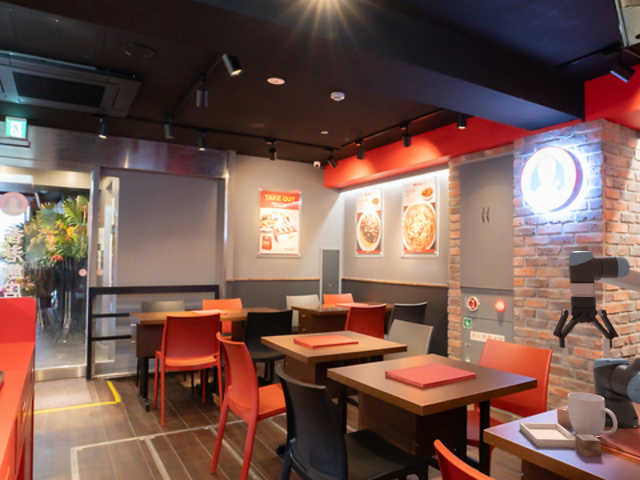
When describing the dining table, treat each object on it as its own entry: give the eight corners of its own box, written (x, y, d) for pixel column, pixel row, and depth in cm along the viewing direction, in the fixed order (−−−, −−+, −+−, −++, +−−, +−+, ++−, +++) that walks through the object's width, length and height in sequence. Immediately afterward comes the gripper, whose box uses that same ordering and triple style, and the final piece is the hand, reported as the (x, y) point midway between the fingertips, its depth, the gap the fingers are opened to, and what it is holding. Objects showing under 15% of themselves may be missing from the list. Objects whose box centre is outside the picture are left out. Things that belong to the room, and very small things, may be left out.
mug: (625, 440, 147) (623, 400, 148) (610, 447, 141) (607, 405, 142) (579, 427, 160) (577, 390, 161) (562, 434, 154) (560, 395, 155)
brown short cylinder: (569, 423, 164) (568, 407, 164) (575, 428, 159) (575, 411, 159) (555, 423, 164) (554, 407, 165) (561, 428, 159) (560, 411, 160)
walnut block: (592, 451, 139) (591, 434, 140) (601, 457, 134) (600, 440, 135) (576, 450, 140) (575, 434, 140) (583, 457, 135) (583, 440, 135)
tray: (557, 430, 157) (557, 423, 158) (579, 447, 142) (579, 440, 142) (519, 429, 159) (519, 422, 159) (537, 446, 143) (536, 439, 143)
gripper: (614, 294, 157) (618, 355, 156) (541, 295, 160) (544, 355, 158) (627, 295, 150) (631, 360, 148) (549, 296, 152) (553, 359, 151)
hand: (586, 357), depth 153 cm, fingers open, 13 cm apart
